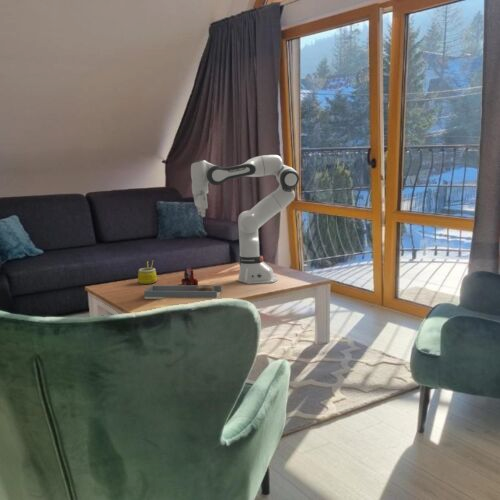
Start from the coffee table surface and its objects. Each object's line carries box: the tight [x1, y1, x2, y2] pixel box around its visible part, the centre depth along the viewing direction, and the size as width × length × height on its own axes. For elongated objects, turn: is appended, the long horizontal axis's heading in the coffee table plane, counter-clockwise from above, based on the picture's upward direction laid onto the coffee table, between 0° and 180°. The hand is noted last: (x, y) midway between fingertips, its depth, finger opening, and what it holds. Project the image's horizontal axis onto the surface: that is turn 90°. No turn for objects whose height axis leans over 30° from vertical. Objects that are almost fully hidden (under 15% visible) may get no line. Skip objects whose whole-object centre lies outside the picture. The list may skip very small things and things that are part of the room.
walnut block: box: [196, 284, 215, 291], centre depth 295 cm, size 8×6×4 cm
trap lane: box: [143, 284, 222, 300], centre depth 297 cm, size 38×12×4 cm, turn 81°
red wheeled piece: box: [180, 266, 199, 286], centre depth 317 cm, size 7×12×10 cm, turn 24°
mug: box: [137, 260, 158, 285], centre depth 329 cm, size 13×11×12 cm
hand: (201, 215), depth 313 cm, fingers open, 8 cm apart
